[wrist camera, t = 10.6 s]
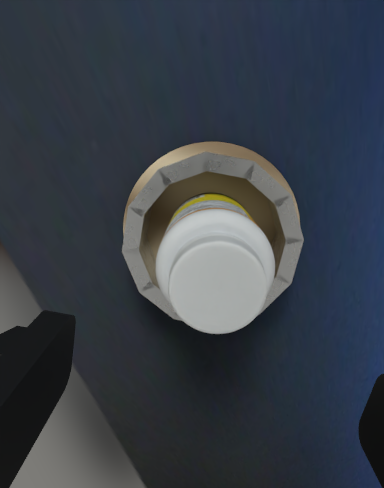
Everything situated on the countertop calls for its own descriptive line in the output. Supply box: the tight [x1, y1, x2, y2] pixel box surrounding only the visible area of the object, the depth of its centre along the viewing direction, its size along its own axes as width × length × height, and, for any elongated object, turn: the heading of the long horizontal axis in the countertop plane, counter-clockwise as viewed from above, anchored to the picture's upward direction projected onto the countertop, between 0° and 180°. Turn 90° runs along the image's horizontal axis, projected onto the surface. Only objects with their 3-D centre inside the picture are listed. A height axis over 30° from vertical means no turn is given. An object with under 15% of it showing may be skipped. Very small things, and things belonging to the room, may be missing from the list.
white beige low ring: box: [122, 151, 304, 321], centre depth 22 cm, size 10×10×3 cm
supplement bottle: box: [156, 192, 275, 334], centre depth 18 cm, size 6×6×10 cm
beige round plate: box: [123, 142, 300, 259], centre depth 24 cm, size 12×12×1 cm
